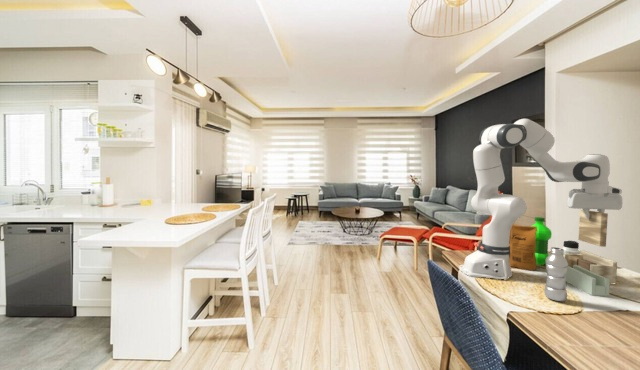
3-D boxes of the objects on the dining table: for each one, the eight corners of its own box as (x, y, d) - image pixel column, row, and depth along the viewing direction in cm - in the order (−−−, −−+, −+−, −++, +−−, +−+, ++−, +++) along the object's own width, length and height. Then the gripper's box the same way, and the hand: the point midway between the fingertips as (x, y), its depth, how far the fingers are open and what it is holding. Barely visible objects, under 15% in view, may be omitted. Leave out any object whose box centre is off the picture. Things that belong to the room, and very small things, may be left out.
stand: (591, 295, 107) (592, 278, 106) (560, 278, 124) (561, 264, 123) (608, 296, 106) (609, 279, 106) (575, 279, 123) (576, 264, 122)
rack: (589, 283, 119) (591, 260, 118) (560, 268, 136) (561, 249, 136) (615, 284, 117) (617, 262, 117) (582, 269, 135) (583, 250, 134)
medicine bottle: (583, 265, 142) (584, 242, 141) (569, 265, 142) (570, 242, 141) (570, 260, 149) (571, 239, 148) (557, 260, 149) (558, 239, 148)
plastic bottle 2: (562, 305, 99) (564, 252, 98) (540, 297, 105) (542, 247, 104) (570, 301, 102) (572, 249, 101) (548, 294, 108) (550, 245, 107)
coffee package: (507, 261, 147) (509, 222, 146) (536, 266, 139) (538, 225, 138) (505, 266, 140) (506, 224, 139) (535, 272, 131) (537, 228, 130)
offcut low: (575, 274, 128) (576, 264, 128) (567, 270, 134) (568, 261, 133) (583, 275, 128) (583, 264, 128) (574, 271, 133) (575, 261, 133)
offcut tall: (588, 280, 121) (589, 263, 121) (577, 275, 127) (578, 259, 127) (596, 281, 121) (597, 263, 120) (585, 276, 127) (586, 259, 126)
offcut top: (576, 264, 128) (577, 258, 128) (568, 261, 133) (568, 255, 133) (583, 264, 128) (583, 258, 128) (574, 261, 133) (574, 255, 133)
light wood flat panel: (599, 246, 120) (601, 213, 119) (578, 239, 132) (580, 209, 131) (605, 246, 120) (607, 213, 119) (584, 240, 131) (585, 209, 131)
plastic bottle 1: (530, 259, 151) (532, 215, 150) (553, 264, 142) (555, 218, 141) (522, 262, 146) (523, 217, 145) (546, 268, 137) (548, 219, 136)
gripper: (574, 189, 123) (573, 218, 124) (626, 190, 120) (624, 220, 120) (564, 188, 129) (562, 216, 130) (613, 189, 126) (611, 218, 127)
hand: (592, 218), depth 125 cm, fingers closed on light wood flat panel, 2 cm apart
